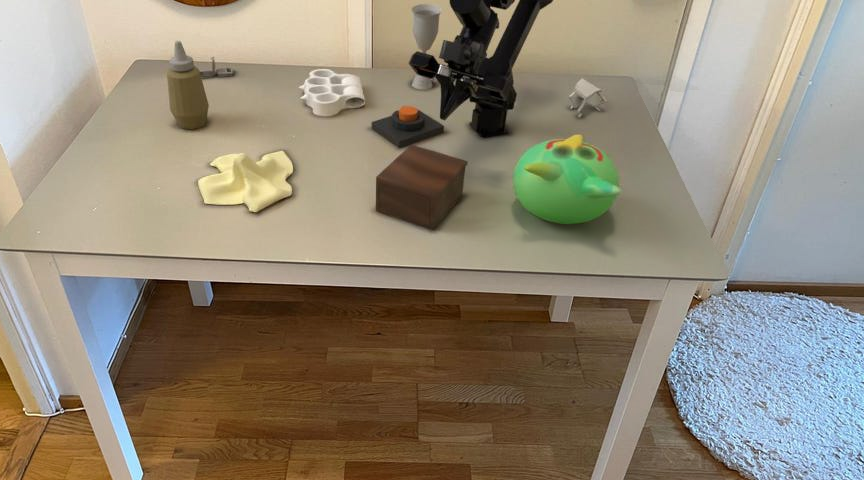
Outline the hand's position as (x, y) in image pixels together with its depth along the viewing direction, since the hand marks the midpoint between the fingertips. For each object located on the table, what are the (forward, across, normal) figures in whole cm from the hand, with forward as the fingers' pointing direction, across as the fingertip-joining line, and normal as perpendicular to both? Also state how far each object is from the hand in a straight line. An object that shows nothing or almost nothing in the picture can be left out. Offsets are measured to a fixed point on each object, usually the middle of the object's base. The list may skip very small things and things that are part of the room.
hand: (442, 119), depth 125 cm
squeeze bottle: (+16, -54, +4) cm, 57 cm away
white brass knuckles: (-2, -36, +22) cm, 42 cm away
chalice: (-14, -21, +35) cm, 43 cm away
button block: (0, -13, +18) cm, 23 cm away
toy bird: (+9, +25, +8) cm, 28 cm away
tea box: (+16, +2, +1) cm, 16 cm away
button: (-2, -13, +16) cm, 21 cm away
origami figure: (-22, +16, +41) cm, 49 cm away
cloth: (+23, -30, -5) cm, 38 cm away
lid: (+11, +1, -3) cm, 11 cm away
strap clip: (+2, -66, +20) cm, 69 cm away
